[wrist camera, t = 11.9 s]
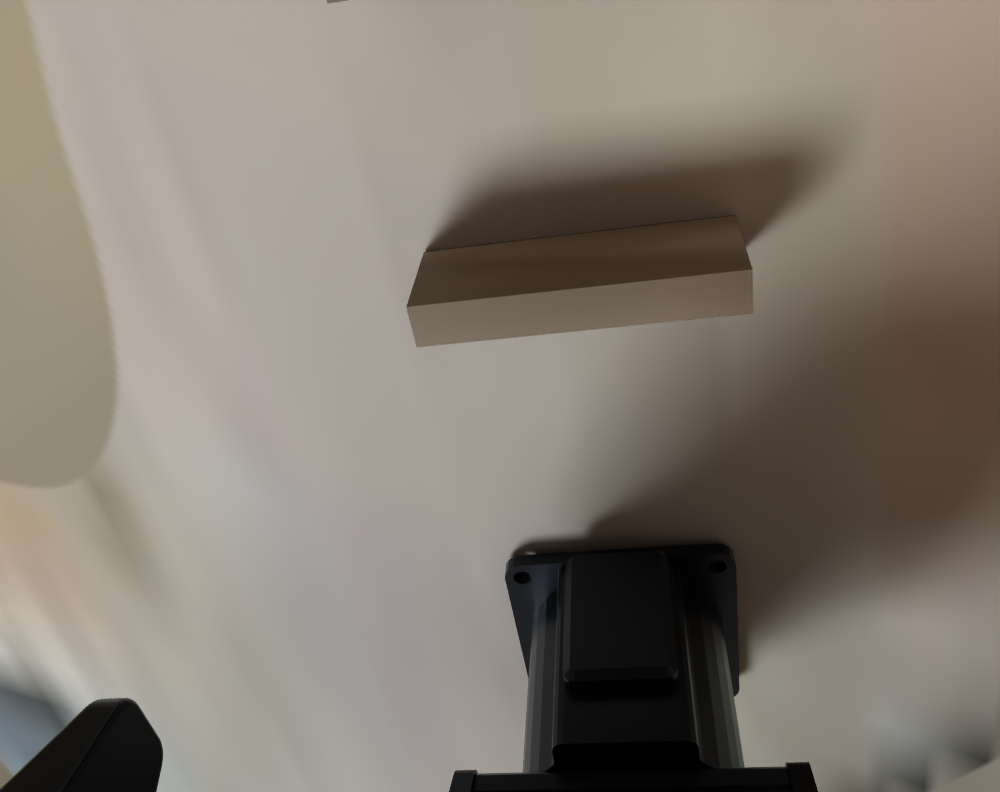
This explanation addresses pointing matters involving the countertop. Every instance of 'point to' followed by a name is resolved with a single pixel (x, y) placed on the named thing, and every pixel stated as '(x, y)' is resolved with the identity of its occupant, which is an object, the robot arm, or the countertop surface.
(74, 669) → the countertop surface
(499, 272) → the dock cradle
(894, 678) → the countertop surface
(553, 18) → the countertop surface
